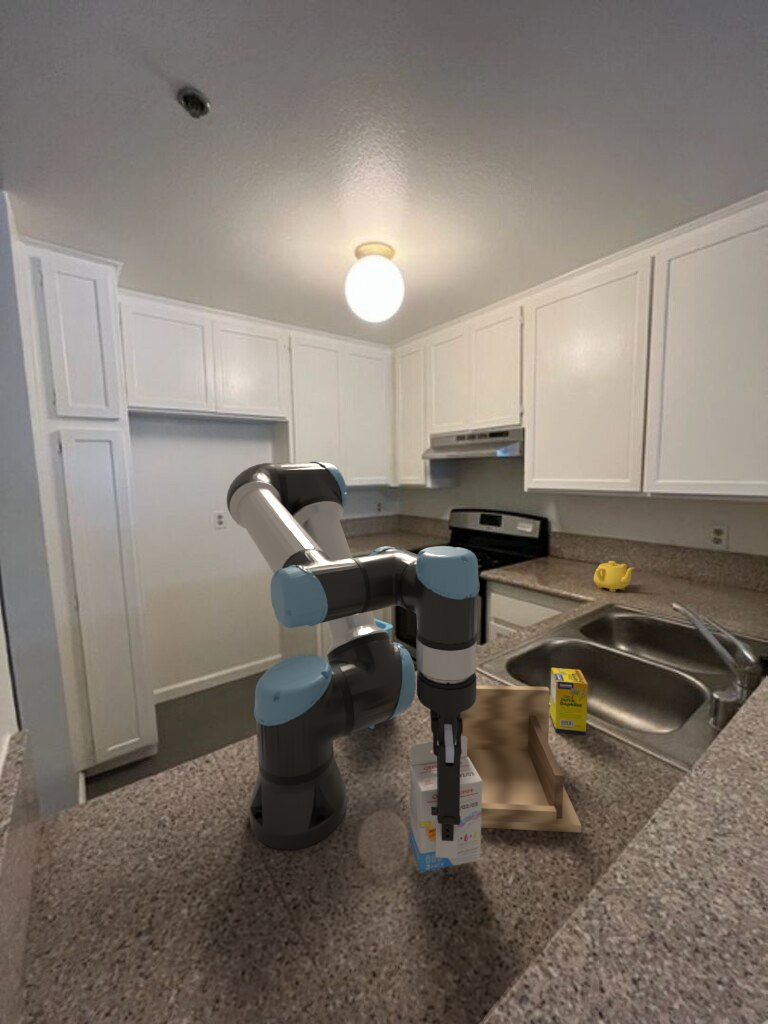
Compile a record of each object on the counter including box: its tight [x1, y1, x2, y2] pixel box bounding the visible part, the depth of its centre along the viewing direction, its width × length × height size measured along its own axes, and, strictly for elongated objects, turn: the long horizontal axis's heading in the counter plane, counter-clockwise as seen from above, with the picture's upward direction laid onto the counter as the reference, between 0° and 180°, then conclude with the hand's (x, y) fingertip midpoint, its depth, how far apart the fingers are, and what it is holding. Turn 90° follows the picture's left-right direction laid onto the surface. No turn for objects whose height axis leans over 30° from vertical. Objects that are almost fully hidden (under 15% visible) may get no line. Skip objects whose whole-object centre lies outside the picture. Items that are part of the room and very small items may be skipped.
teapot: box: [593, 560, 635, 593], centre depth 177 cm, size 14×14×12 cm
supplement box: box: [549, 667, 589, 736], centre depth 86 cm, size 6×6×11 cm
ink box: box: [409, 736, 482, 873], centre depth 55 cm, size 8×5×15 cm, turn 103°
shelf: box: [460, 684, 582, 833], centre depth 70 cm, size 20×17×13 cm
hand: (444, 831), depth 56 cm, fingers closed on ink box, 6 cm apart
